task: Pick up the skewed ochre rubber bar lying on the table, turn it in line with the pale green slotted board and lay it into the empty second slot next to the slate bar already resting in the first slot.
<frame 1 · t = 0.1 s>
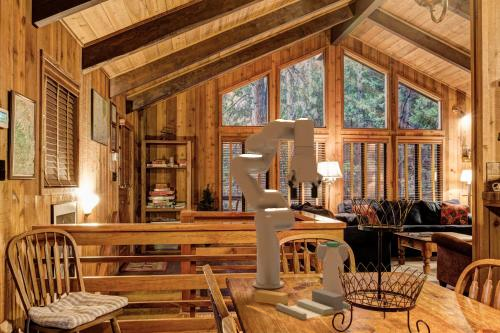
hand: (304, 198, 174), 37 cm above the table, tool pointing down, fingers open, 9 cm apart
slate bar: (327, 306, 158), point 1 cm above the table, touching slot board
slot board: (314, 312, 155), on the table
milk bottle: (333, 296, 176), on the table
ochre bar: (271, 305, 164), on the table
chalice: (332, 278, 208), on the table
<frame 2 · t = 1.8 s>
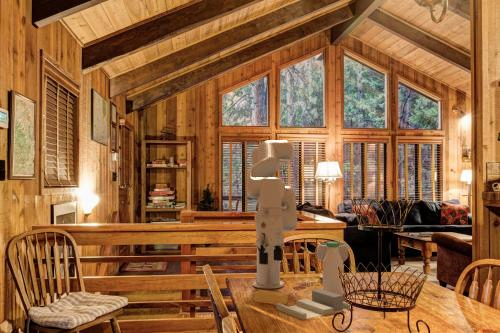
hand: (270, 262, 164), 15 cm above the table, tool pointing down, fingers open, 9 cm apart
nothing on the table moved.
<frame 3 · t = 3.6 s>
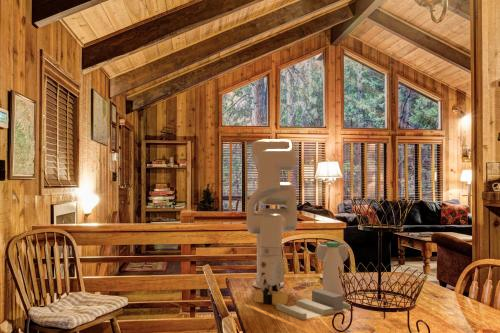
hand: (271, 303, 164), 0 cm above the table, tool pointing down, fingers closed on ochre bar, 4 cm apart
ochre bar: (270, 305, 164), on the table, touching gripper
everything else where it was.
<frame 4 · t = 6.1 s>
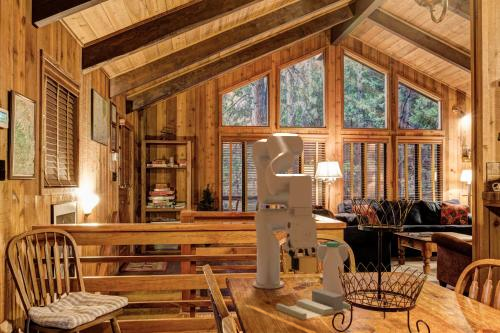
hand: (301, 268, 152), 15 cm above the table, tool pointing down, fingers closed on ochre bar, 4 cm apart
ochre bar: (300, 270, 152), point 14 cm above the table, touching gripper
everything else where it was.
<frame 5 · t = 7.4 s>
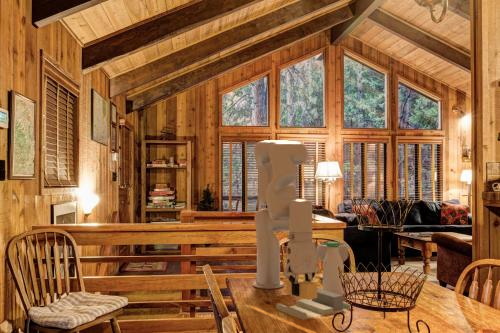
hand: (301, 293, 152), 7 cm above the table, tool pointing down, fingers closed on ochre bar, 4 cm apart
ochre bar: (301, 295, 152), point 6 cm above the table, touching gripper
everything else where it was.
when the fingers open (3 cm above the table, at t = 8.4 s): ochre bar drops 2 cm, resting on slot board.
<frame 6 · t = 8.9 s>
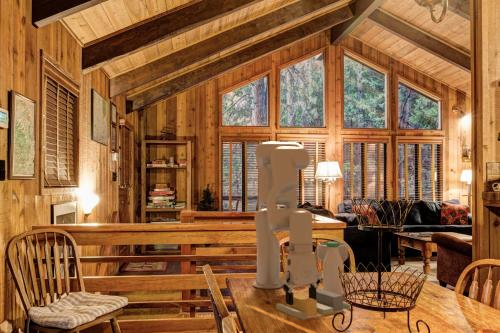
hand: (301, 302, 152), 4 cm above the table, tool pointing down, fingers open, 9 cm apart
ochre bar: (301, 311, 152), point 1 cm above the table, touching slot board
everything else where it was.
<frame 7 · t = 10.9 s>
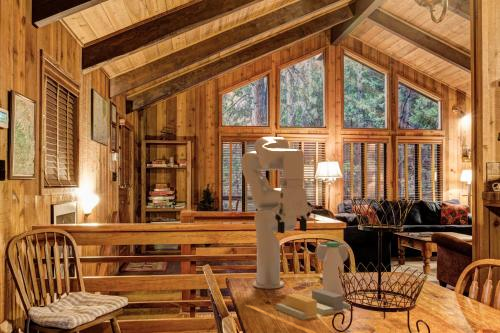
hand: (292, 231, 168), 25 cm above the table, tool pointing down, fingers open, 9 cm apart
nothing on the table moved.
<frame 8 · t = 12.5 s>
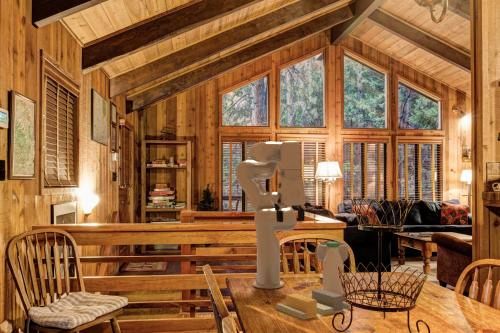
hand: (290, 221, 173), 28 cm above the table, tool pointing down, fingers open, 9 cm apart
nothing on the table moved.
at the end: ochre bar inside the target area on the slot board (0.1 cm from its centre), point 1.0 cm above the slot board's base; ochre bar tilted 0°; slate bar moved 0.1 cm from its start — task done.
